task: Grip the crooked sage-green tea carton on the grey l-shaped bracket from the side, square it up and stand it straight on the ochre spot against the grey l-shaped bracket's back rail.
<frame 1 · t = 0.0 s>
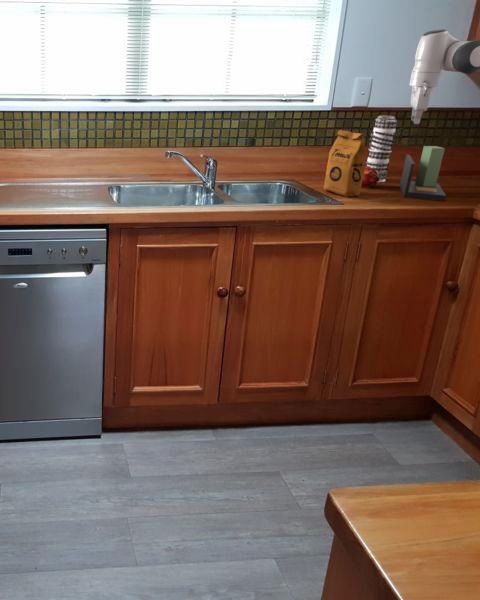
hand: (415, 122, 215), 25 cm above the table, tool pointing down, fingers open, 8 cm apart
tea carton: (425, 184, 230), point 2 cm above the table, touching grey l-shaped bracket
dragon fruit: (363, 186, 235), on the table
decorative candle: (374, 180, 246), on the table
grey l-shaped bracket: (421, 192, 226), on the table
coffee package: (341, 194, 222), on the table
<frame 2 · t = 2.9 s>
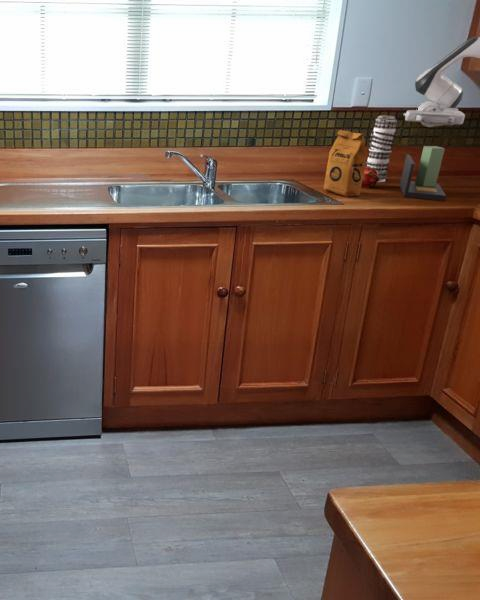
hand: (436, 119, 230), 25 cm above the table, tool horizontal, fingers open, 8 cm apart
nothing on the table moved.
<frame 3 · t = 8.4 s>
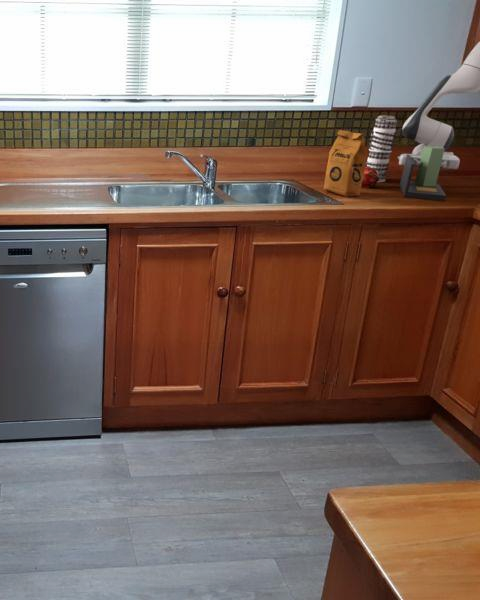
hand: (430, 164, 226), 10 cm above the table, tool horizontal, fingers closed on tea carton, 6 cm apart
tea carton: (425, 184, 230), point 2 cm above the table, touching gripper, grey l-shaped bracket
everything else where it was.
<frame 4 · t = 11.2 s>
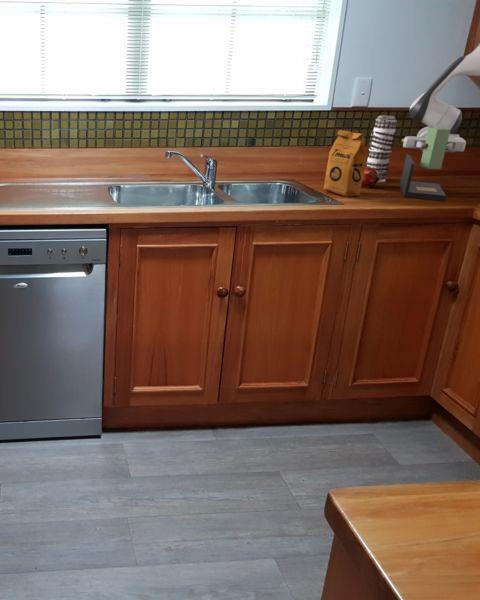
hand: (435, 146, 219), 17 cm above the table, tool horizontal, fingers closed on tea carton, 6 cm apart
tea carton: (430, 167, 223), point 9 cm above the table, touching gripper
everything else where it was.
when the fingers open (10 cm above the table, at t = 14.5 s): tea carton stays where it is, resting on grey l-shaped bracket.
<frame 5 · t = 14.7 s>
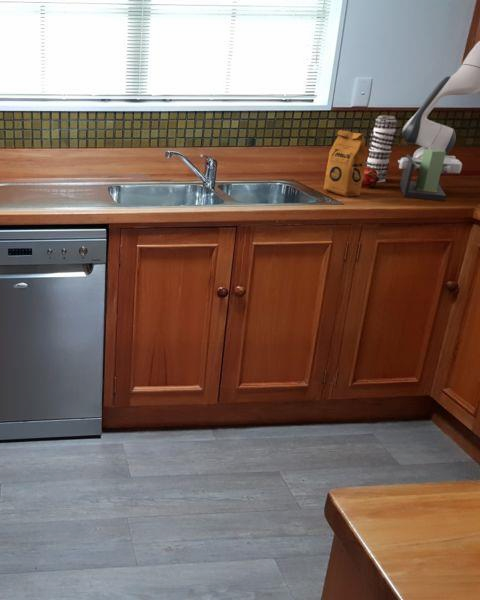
hand: (431, 168, 218), 10 cm above the table, tool horizontal, fingers open, 8 cm apart
tea carton: (425, 189, 222), point 2 cm above the table, touching grey l-shaped bracket
everything else where it was.
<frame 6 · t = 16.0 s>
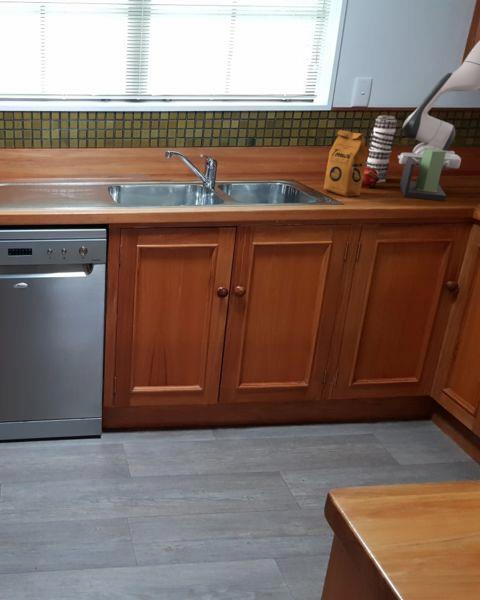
hand: (431, 163, 221), 11 cm above the table, tool horizontal, fingers open, 8 cm apart
nothing on the table moved.
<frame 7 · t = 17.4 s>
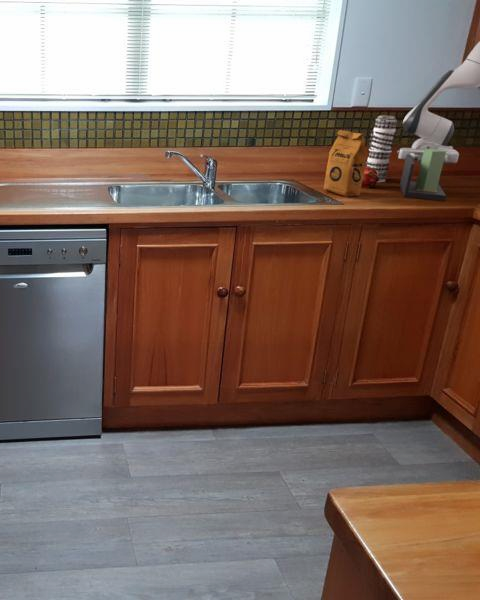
hand: (429, 158, 227), 12 cm above the table, tool horizontal, fingers open, 8 cm apart
nothing on the table moved.
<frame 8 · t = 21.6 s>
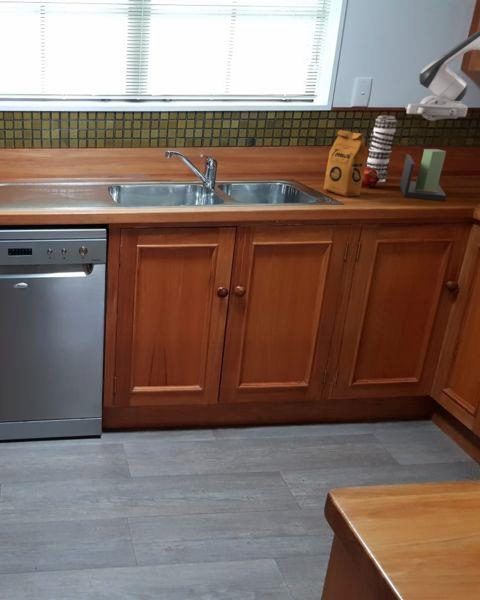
hand: (438, 111, 226), 28 cm above the table, tool horizontal, fingers open, 8 cm apart
nothing on the table moved.
at the end: tea carton 0.2 cm from the target spot, point 2.1 cm above the table; tea carton tilted 0°; the gripper is holding nothing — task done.
